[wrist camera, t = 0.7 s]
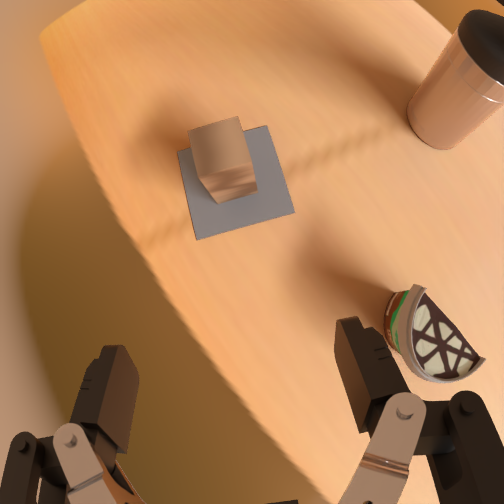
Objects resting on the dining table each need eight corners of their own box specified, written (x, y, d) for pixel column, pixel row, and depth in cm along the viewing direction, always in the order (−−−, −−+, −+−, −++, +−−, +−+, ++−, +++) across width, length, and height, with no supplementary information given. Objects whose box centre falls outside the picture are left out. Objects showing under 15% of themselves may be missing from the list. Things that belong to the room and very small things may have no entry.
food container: (353, 323, 35) (379, 336, 25) (386, 284, 35) (422, 283, 25) (415, 383, 34) (452, 409, 24) (445, 347, 34) (488, 362, 24)
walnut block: (247, 155, 38) (238, 116, 28) (258, 192, 37) (251, 161, 27) (208, 167, 38) (187, 131, 28) (217, 204, 38) (198, 177, 28)
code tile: (267, 125, 38) (267, 125, 38) (294, 212, 37) (295, 212, 37) (177, 152, 39) (177, 151, 39) (196, 240, 37) (196, 240, 37)
